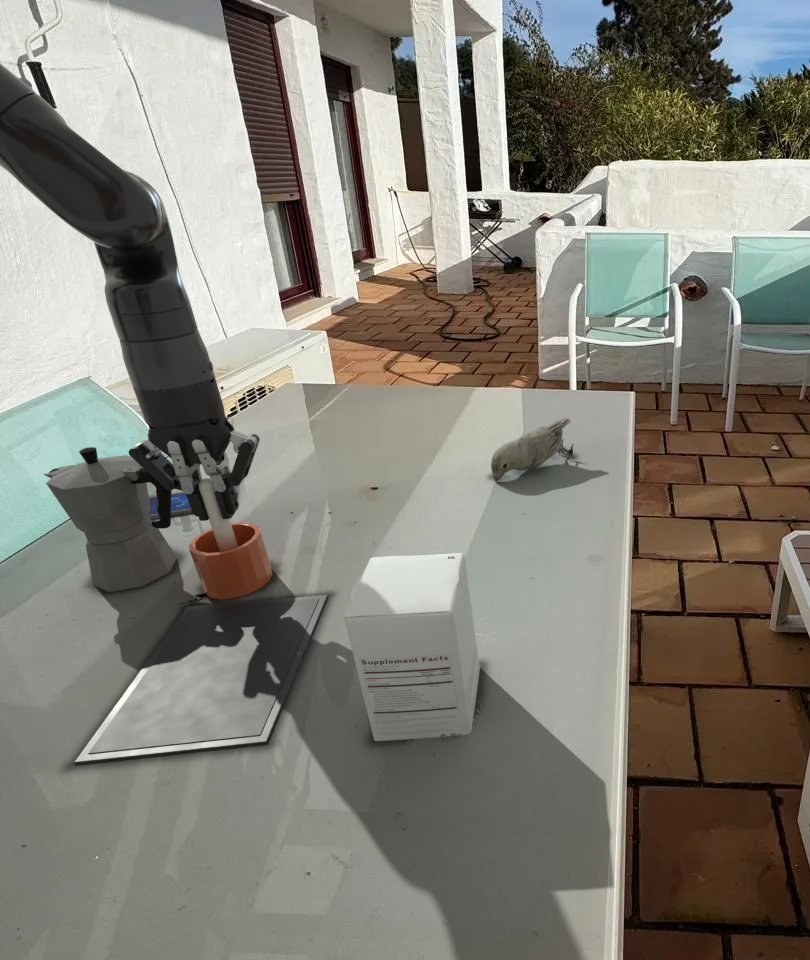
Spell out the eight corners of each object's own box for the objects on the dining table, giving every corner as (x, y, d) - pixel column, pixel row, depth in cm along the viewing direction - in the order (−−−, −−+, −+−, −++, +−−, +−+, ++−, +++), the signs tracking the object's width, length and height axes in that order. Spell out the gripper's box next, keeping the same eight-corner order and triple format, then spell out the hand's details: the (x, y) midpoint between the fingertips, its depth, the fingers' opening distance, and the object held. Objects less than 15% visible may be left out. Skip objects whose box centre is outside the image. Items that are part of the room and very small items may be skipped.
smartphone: (128, 500, 99) (235, 483, 103) (130, 505, 99) (236, 489, 104) (114, 521, 92) (228, 503, 97) (116, 527, 93) (230, 508, 98)
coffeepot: (60, 595, 78) (-3, 463, 70) (118, 553, 87) (68, 431, 79) (177, 601, 77) (126, 467, 69) (225, 558, 86) (184, 434, 78)
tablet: (77, 770, 55) (72, 761, 55) (189, 613, 75) (186, 605, 75) (269, 749, 57) (266, 740, 57) (329, 601, 77) (327, 593, 76)
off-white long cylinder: (222, 570, 78) (193, 482, 72) (228, 561, 79) (200, 475, 74) (239, 569, 78) (211, 481, 72) (245, 560, 80) (218, 474, 74)
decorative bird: (485, 477, 107) (481, 436, 104) (560, 451, 117) (558, 413, 113) (503, 487, 103) (499, 445, 100) (578, 460, 113) (578, 421, 110)
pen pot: (195, 606, 76) (177, 557, 73) (220, 570, 83) (205, 524, 80) (261, 601, 77) (247, 552, 74) (281, 566, 84) (268, 520, 81)
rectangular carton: (394, 676, 65) (368, 554, 59) (481, 671, 66) (466, 549, 59) (372, 748, 57) (339, 616, 51) (472, 742, 58) (453, 610, 51)
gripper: (82, 390, 64) (140, 537, 71) (227, 383, 65) (269, 528, 73) (122, 369, 70) (171, 506, 78) (253, 363, 72) (289, 497, 80)
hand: (218, 516), depth 75 cm, fingers closed on off-white long cylinder, 2 cm apart
